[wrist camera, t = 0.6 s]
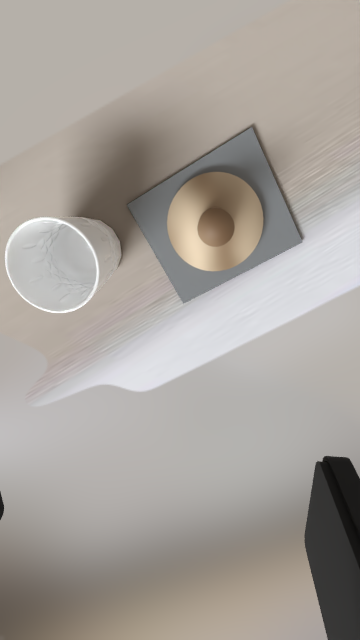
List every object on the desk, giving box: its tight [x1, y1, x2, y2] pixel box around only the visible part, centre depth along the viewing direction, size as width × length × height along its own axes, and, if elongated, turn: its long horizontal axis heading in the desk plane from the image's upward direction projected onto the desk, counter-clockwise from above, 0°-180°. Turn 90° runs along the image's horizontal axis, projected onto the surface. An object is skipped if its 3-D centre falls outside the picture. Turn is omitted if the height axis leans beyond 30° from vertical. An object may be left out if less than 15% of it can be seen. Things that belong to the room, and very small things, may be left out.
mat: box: [127, 127, 302, 304], centre depth 34 cm, size 14×12×1 cm
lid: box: [167, 172, 263, 271], centre depth 31 cm, size 10×10×6 cm
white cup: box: [5, 217, 122, 313], centre depth 32 cm, size 8×8×10 cm
